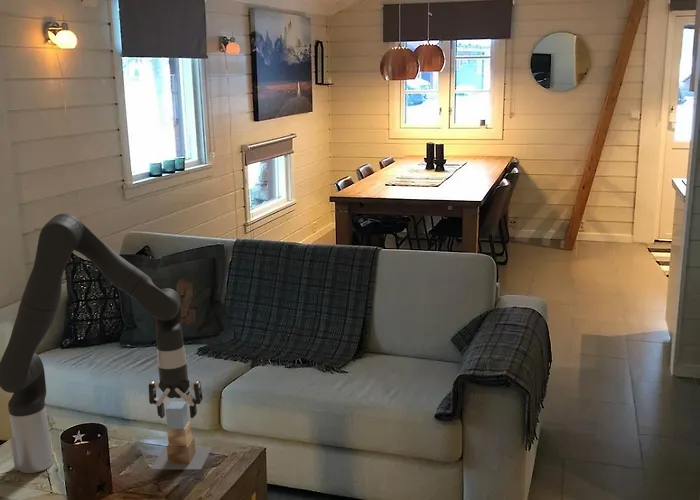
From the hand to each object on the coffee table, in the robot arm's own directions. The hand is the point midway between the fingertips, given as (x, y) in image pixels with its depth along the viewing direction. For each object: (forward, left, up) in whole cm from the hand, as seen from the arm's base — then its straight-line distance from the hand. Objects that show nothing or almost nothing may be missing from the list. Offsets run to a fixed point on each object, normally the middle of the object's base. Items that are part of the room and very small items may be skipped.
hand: (177, 416), depth 205 cm
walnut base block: (0, 0, -12) cm, 12 cm away
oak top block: (0, 0, -8) cm, 8 cm away
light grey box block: (0, 0, -3) cm, 3 cm away
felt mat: (0, 0, -13) cm, 13 cm away
